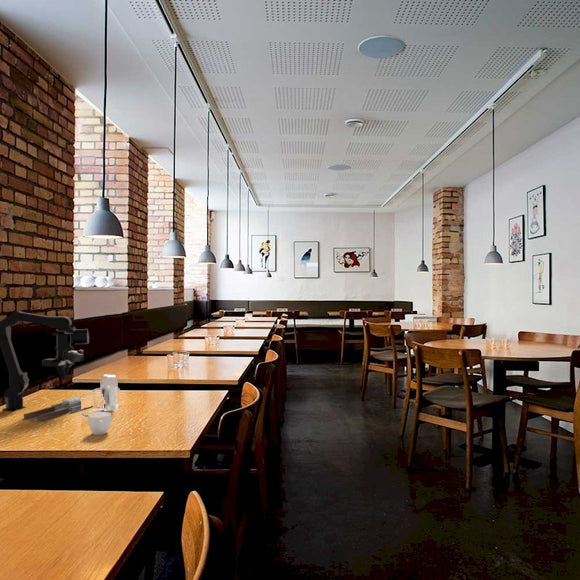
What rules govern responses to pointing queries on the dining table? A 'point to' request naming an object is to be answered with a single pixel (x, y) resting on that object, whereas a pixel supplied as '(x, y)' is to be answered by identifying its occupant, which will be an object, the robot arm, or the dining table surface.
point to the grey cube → (69, 403)
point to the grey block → (77, 400)
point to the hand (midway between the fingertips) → (64, 379)
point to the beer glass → (109, 391)
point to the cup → (99, 422)
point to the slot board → (50, 413)
